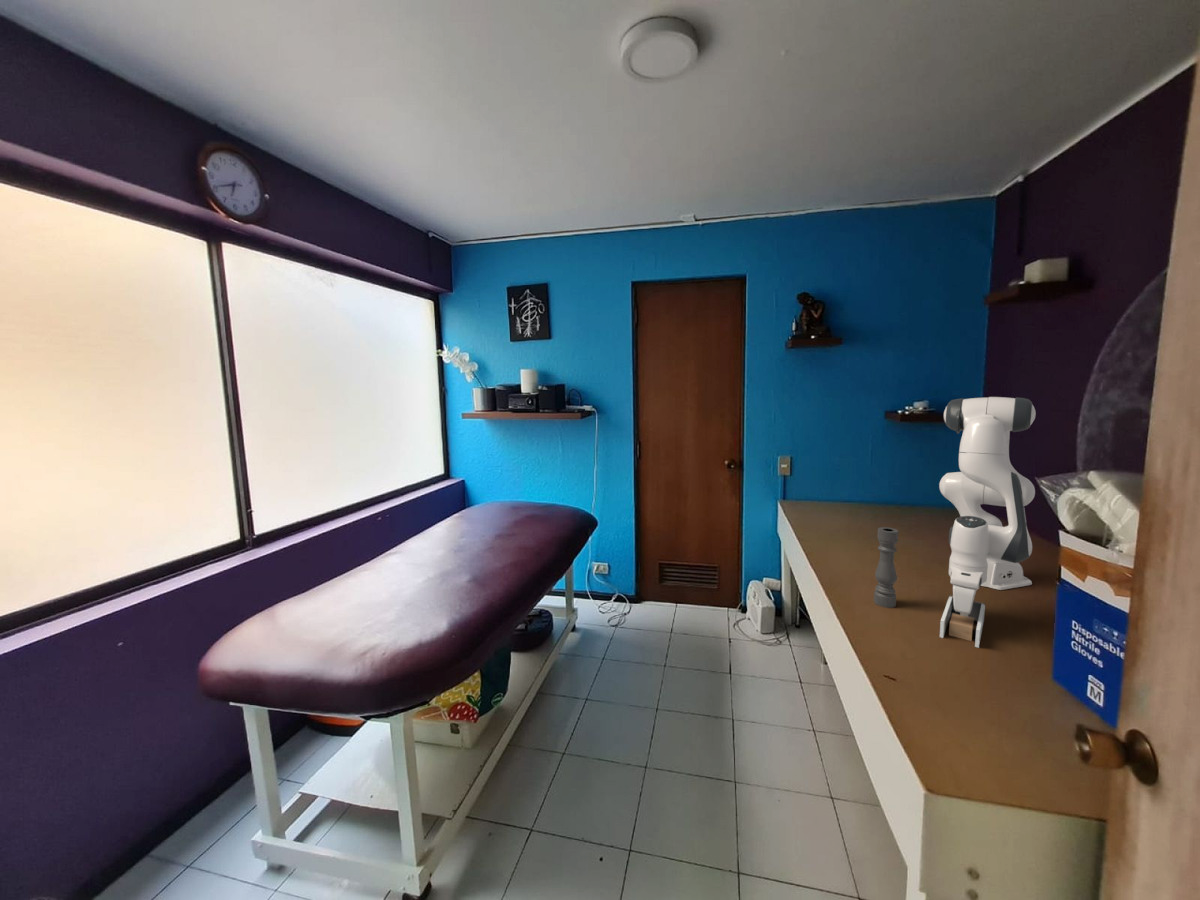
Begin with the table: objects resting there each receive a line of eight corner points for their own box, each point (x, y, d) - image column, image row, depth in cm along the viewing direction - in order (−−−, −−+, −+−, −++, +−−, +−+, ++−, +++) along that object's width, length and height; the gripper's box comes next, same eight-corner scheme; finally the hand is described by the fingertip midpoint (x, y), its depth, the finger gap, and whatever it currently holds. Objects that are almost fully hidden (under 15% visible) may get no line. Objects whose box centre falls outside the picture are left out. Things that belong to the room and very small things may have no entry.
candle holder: (888, 609, 147) (892, 534, 143) (869, 601, 152) (872, 529, 149) (899, 604, 149) (903, 530, 146) (880, 597, 155) (884, 525, 152)
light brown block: (951, 625, 136) (952, 613, 135) (973, 631, 133) (974, 618, 132) (948, 635, 131) (949, 622, 130) (971, 641, 127) (972, 628, 127)
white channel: (948, 610, 144) (949, 595, 144) (983, 619, 139) (985, 603, 138) (939, 637, 130) (940, 620, 129) (978, 647, 124) (980, 630, 123)
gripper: (958, 559, 145) (955, 600, 147) (949, 580, 130) (946, 625, 132) (983, 563, 141) (980, 606, 142) (978, 585, 126) (975, 633, 128)
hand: (964, 615), depth 137 cm, fingers closed
